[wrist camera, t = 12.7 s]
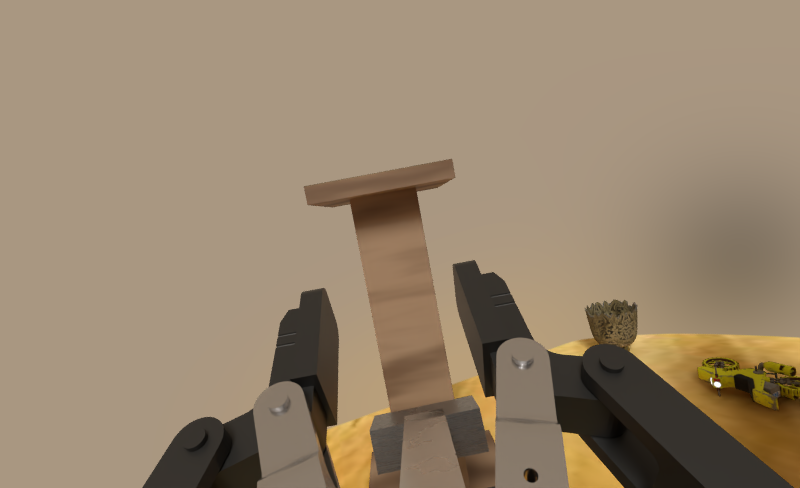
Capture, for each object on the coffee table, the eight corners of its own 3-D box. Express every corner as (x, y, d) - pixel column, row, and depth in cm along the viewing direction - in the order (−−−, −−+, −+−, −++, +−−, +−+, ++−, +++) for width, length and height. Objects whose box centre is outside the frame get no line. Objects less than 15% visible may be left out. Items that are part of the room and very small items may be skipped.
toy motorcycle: (828, 369, 45) (786, 390, 43) (832, 403, 46) (791, 426, 44) (713, 343, 57) (675, 359, 55) (717, 370, 57) (680, 387, 55)
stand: (528, 530, 36) (464, 156, 34) (367, 560, 36) (291, 188, 34) (491, 441, 50) (443, 172, 48) (374, 463, 50) (321, 195, 48)
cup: (582, 352, 71) (575, 306, 70) (621, 342, 72) (614, 296, 72) (612, 367, 64) (604, 315, 63) (655, 356, 65) (647, 304, 64)
